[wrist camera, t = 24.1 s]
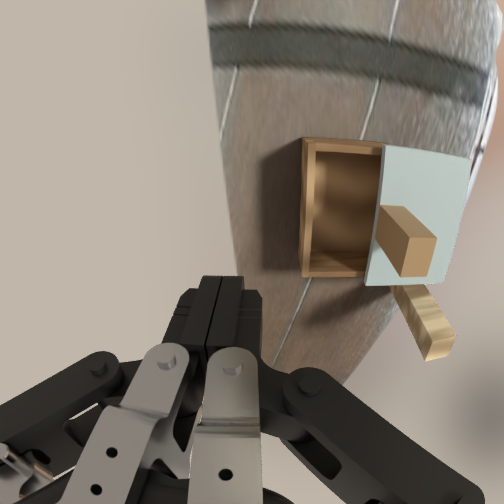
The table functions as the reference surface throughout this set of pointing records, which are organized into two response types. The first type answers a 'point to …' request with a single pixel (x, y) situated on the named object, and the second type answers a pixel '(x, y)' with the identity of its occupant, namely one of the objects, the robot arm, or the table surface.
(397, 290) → the wooden block
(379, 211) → the lid
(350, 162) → the wooden box
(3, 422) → the robot arm
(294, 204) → the table surface
